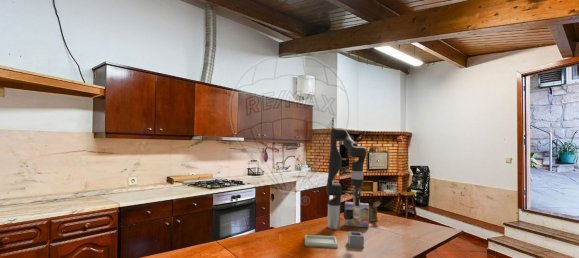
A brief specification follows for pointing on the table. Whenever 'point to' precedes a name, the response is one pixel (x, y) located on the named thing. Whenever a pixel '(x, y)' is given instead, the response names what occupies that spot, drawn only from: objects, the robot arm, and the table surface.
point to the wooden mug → (373, 211)
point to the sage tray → (321, 241)
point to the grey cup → (355, 239)
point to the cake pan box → (363, 215)
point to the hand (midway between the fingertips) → (356, 204)
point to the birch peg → (356, 208)
